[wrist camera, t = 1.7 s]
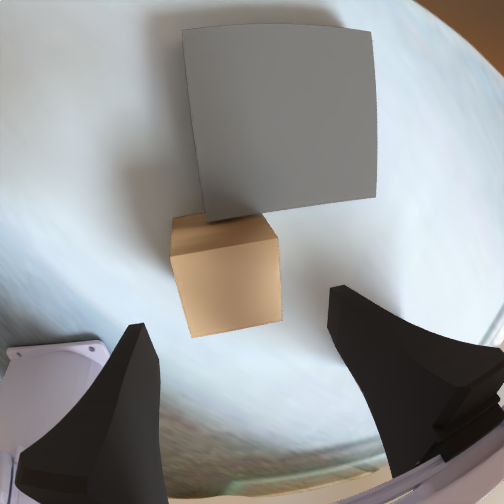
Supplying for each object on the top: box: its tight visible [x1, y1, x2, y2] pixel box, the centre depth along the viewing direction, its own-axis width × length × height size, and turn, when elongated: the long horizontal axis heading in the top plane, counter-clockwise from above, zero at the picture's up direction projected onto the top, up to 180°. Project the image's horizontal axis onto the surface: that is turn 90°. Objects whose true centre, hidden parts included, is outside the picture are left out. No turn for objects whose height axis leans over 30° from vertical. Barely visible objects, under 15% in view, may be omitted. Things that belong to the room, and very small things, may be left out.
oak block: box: [170, 213, 282, 338], centre depth 15 cm, size 4×4×4 cm
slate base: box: [182, 24, 377, 222], centre depth 14 cm, size 9×9×2 cm
